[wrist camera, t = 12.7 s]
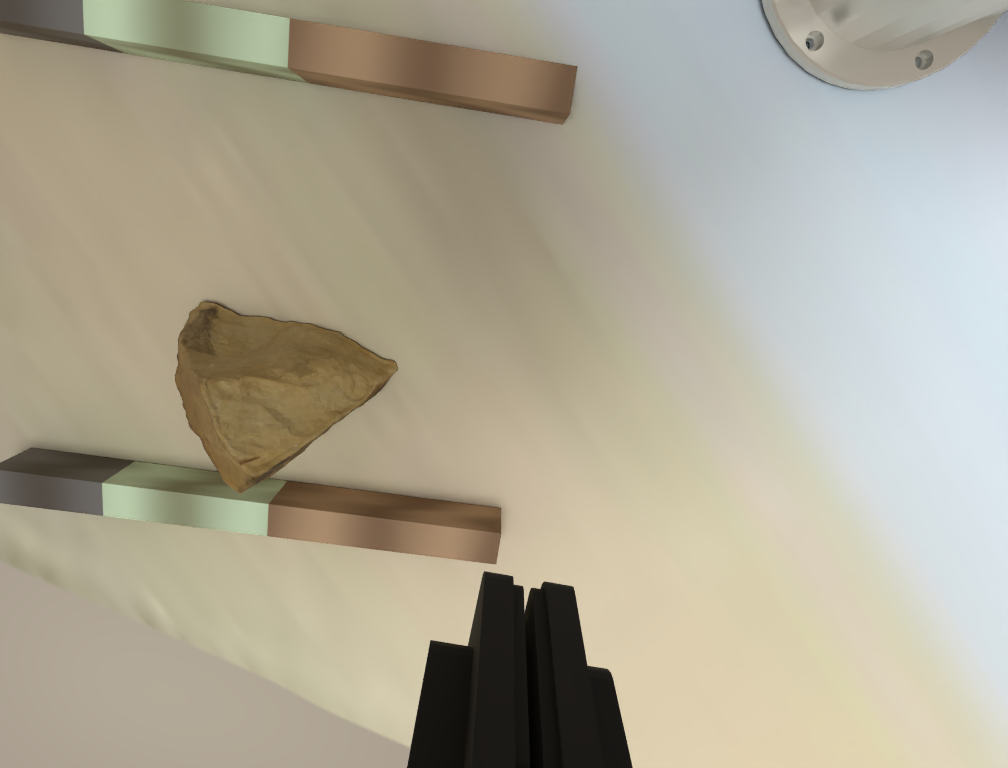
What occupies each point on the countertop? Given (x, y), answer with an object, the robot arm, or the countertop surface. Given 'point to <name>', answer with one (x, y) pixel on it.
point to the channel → (312, 59)
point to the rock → (267, 388)
